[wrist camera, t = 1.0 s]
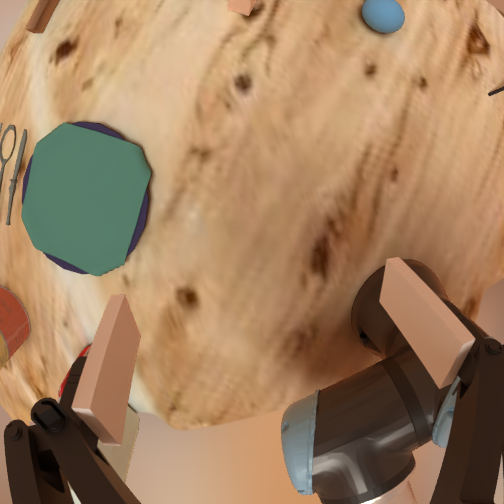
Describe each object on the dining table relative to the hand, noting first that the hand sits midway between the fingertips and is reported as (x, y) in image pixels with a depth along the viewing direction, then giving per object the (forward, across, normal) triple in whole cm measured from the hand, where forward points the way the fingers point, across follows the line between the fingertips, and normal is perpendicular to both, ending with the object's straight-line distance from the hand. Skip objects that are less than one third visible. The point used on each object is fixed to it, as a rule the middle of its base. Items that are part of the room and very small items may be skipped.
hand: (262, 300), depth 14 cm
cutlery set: (+26, +24, -3) cm, 35 cm away
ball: (+22, -20, -21) cm, 37 cm away
